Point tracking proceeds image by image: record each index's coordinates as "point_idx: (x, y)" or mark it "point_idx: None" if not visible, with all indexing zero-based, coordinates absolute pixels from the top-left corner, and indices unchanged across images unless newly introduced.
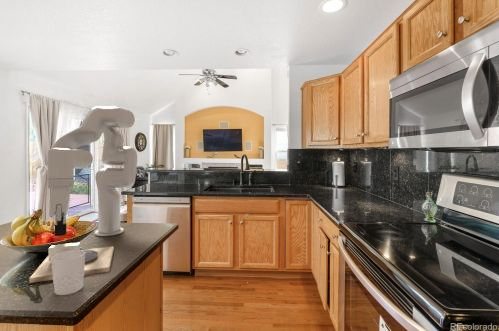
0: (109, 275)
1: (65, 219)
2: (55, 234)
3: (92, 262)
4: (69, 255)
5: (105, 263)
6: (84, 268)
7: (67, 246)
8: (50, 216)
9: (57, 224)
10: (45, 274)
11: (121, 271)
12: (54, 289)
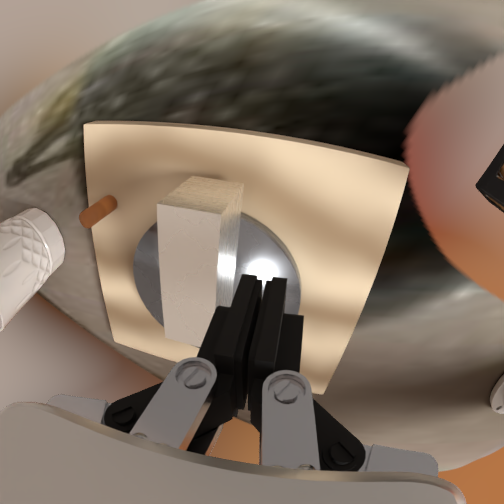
0: (98, 325)
1: (259, 451)
2: (238, 284)
3: None
4: (4, 291)
5: (143, 342)
6: (116, 290)
7: (162, 295)
8: (8, 405)
9: (180, 374)
10: (96, 173)
11: (117, 350)
12: (19, 213)
